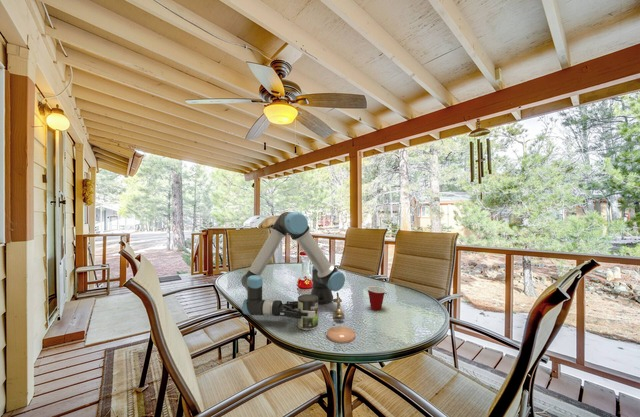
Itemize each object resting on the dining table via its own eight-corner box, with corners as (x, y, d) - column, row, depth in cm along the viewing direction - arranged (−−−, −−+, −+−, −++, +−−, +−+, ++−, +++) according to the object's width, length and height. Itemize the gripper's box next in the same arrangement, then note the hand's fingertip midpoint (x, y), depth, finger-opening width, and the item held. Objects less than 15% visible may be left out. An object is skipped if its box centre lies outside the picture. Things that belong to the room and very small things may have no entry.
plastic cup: (384, 313, 145) (384, 292, 145) (365, 311, 149) (365, 290, 149) (387, 307, 155) (387, 286, 155) (369, 304, 159) (369, 284, 159)
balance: (345, 323, 133) (345, 301, 133) (333, 323, 133) (333, 301, 133) (342, 310, 150) (342, 290, 150) (331, 310, 149) (331, 291, 149)
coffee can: (322, 324, 132) (322, 296, 132) (310, 332, 123) (310, 302, 123) (305, 319, 137) (305, 292, 137) (293, 327, 129) (293, 298, 129)
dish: (320, 335, 120) (320, 332, 120) (340, 326, 129) (340, 323, 129) (341, 346, 110) (341, 342, 110) (360, 336, 119) (360, 332, 119)
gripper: (279, 307, 144) (319, 308, 141) (266, 325, 121) (313, 327, 119) (279, 293, 144) (319, 294, 141) (265, 309, 121) (313, 311, 119)
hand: (316, 309), depth 130 cm, fingers closed on coffee can, 10 cm apart
